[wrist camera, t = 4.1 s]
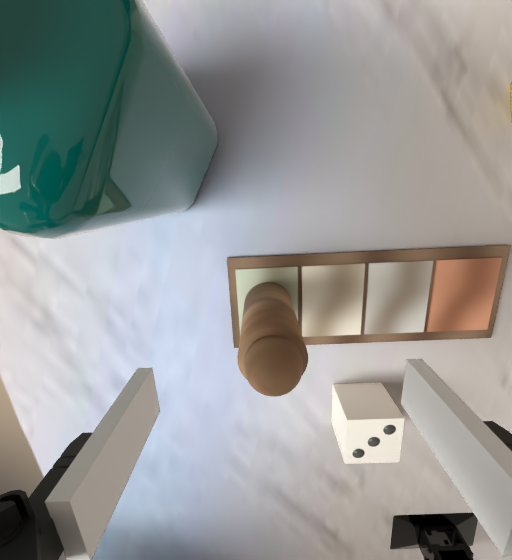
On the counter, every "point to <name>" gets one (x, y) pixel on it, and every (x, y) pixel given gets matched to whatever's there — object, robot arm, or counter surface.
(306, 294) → the game board
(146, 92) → the green plastic tall bottle
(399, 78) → the counter surface
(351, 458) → the die
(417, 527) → the black piece
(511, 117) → the alphabet block
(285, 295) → the wooden domed cylinder
